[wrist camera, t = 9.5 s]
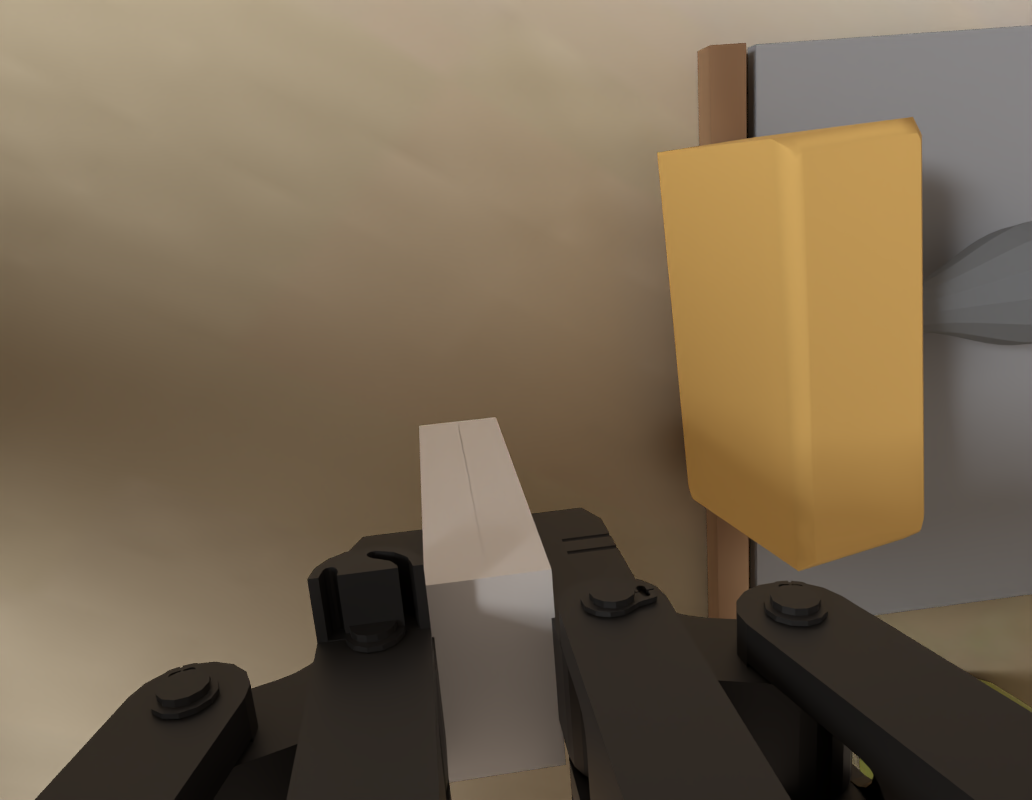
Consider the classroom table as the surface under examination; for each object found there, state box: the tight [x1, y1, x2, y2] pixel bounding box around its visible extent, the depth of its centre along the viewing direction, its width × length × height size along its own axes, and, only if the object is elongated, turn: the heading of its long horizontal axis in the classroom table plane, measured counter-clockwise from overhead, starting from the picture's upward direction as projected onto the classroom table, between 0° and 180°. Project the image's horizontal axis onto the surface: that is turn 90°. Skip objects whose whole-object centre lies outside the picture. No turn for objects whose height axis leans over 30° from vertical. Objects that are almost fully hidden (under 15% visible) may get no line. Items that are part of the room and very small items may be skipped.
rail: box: [698, 43, 749, 619], centre depth 25 cm, size 1×18×1 cm, turn 4°
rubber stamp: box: [657, 117, 1032, 571], centre depth 22 cm, size 10×6×12 cm
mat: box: [748, 25, 1032, 615], centre depth 25 cm, size 11×18×1 cm, turn 5°
